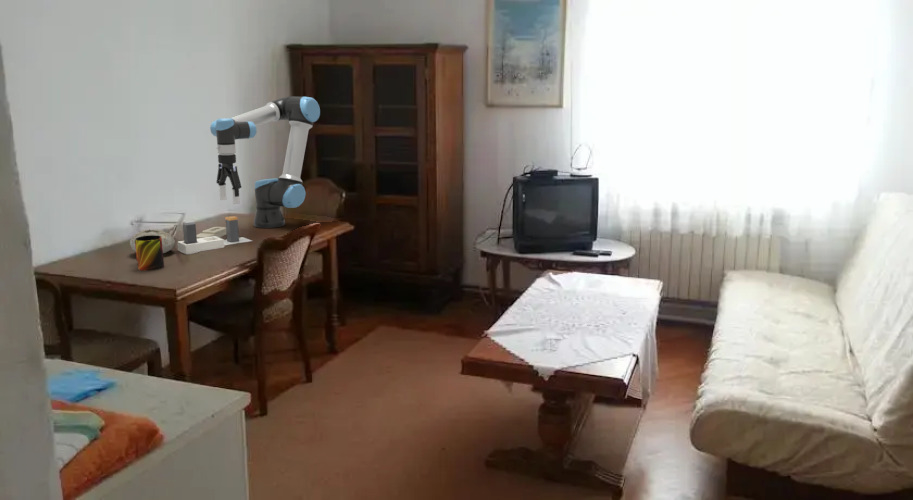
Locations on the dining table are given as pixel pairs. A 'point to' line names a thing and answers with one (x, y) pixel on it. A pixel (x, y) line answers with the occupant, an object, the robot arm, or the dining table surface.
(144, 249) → the mug
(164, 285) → the dining table surface
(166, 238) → the grey stone
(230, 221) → the plug
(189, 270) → the dining table surface
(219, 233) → the electrical outlet
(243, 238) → the tray
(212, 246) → the socket strip
